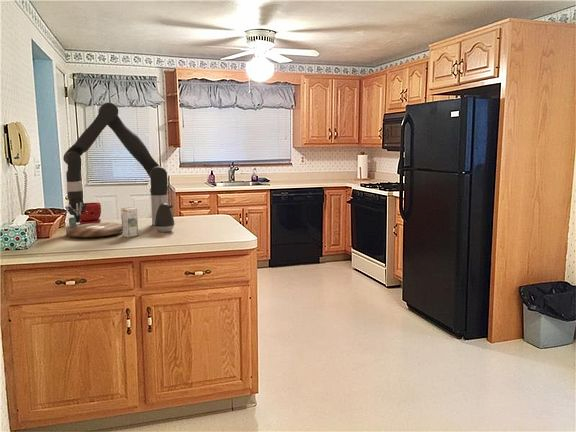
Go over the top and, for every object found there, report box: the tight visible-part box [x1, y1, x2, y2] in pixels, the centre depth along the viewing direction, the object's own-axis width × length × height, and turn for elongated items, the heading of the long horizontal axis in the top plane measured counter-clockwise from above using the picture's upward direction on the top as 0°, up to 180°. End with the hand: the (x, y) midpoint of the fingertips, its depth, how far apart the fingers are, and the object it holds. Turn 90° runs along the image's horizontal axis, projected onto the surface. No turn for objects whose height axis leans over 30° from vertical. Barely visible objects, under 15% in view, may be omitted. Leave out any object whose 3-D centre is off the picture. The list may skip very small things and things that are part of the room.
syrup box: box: [120, 206, 139, 238], centre depth 239 cm, size 6×6×14 cm
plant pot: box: [79, 202, 102, 225], centre depth 273 cm, size 13×13×12 cm
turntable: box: [65, 216, 122, 238], centre depth 245 cm, size 28×28×7 cm
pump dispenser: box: [154, 203, 175, 233], centre depth 250 cm, size 10×10×15 cm
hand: (77, 222), depth 249 cm, fingers closed
